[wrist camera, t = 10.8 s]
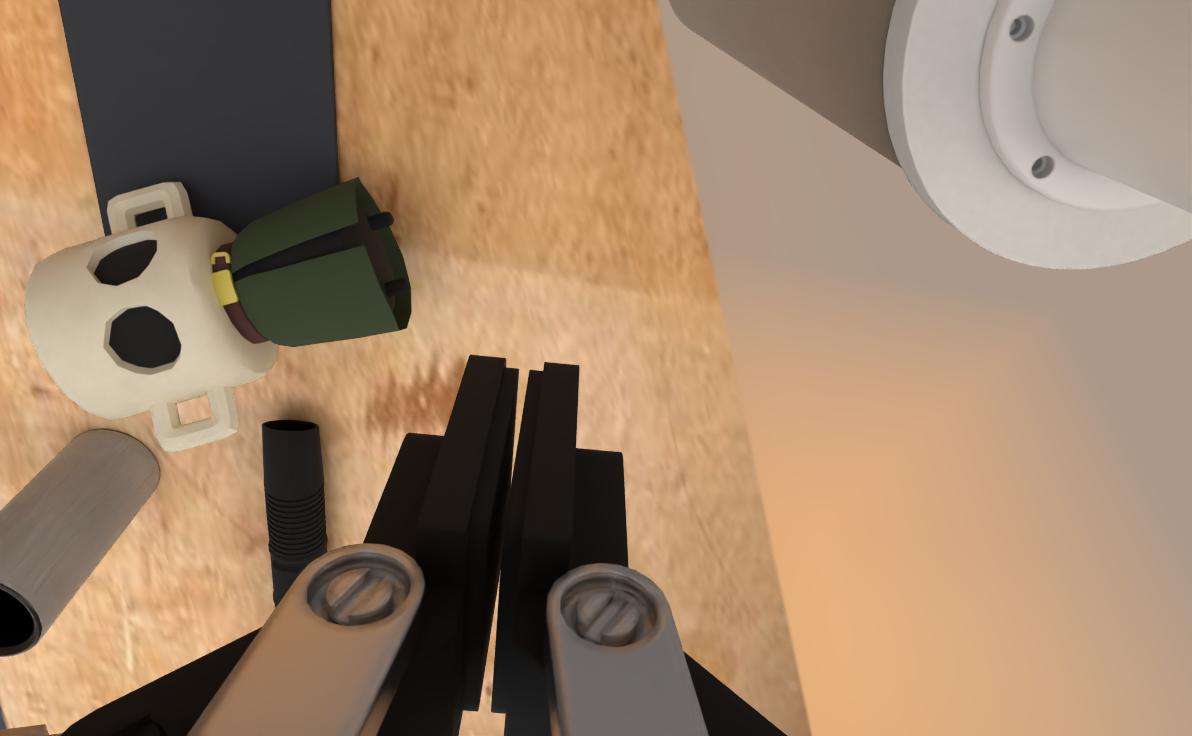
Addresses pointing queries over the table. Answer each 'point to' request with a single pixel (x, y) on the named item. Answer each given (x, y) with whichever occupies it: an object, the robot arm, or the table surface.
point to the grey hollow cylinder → (66, 529)
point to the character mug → (209, 302)
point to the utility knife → (293, 499)
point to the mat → (206, 101)
